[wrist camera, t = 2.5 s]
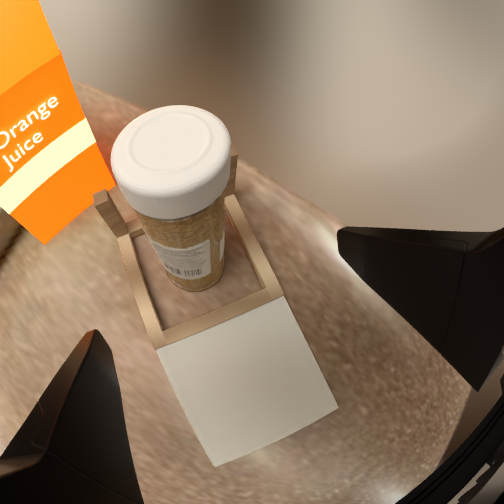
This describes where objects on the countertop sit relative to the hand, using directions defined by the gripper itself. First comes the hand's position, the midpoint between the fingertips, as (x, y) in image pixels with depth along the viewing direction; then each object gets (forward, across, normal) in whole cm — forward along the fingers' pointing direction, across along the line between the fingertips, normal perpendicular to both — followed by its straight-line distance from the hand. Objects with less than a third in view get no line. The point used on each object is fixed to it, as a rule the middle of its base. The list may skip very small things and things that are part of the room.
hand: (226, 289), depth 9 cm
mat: (+5, 0, +11) cm, 13 cm away
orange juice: (+21, +10, -4) cm, 23 cm away
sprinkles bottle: (+12, 0, +5) cm, 13 cm away
